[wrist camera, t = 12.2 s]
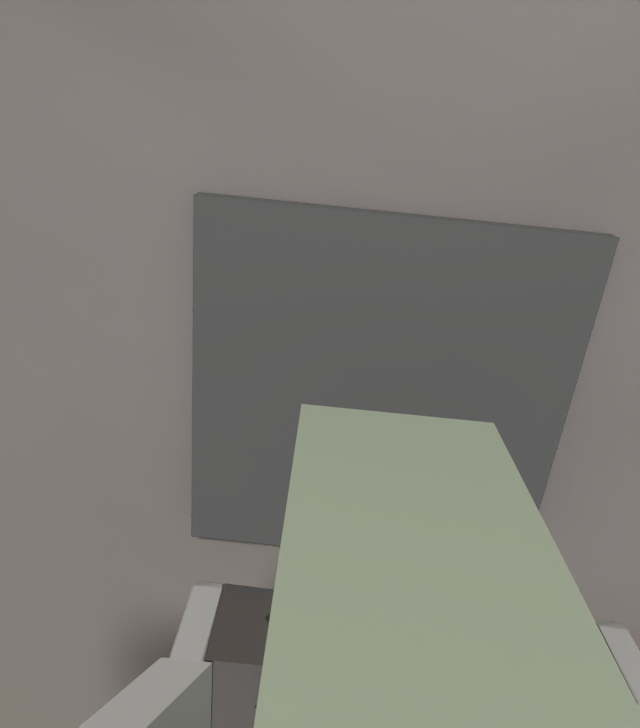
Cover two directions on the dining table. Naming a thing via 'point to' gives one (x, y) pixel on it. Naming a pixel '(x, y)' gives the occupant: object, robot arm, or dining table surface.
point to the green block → (425, 589)
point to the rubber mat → (374, 337)
